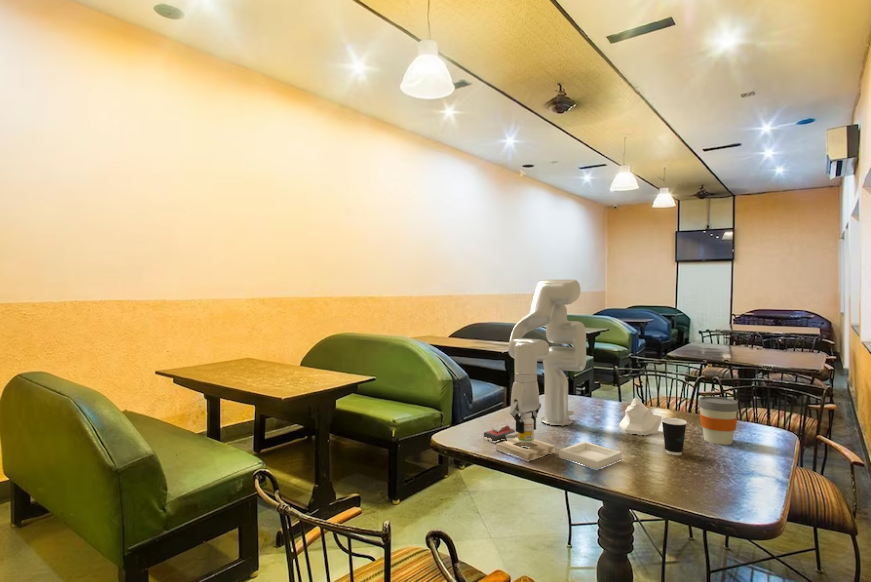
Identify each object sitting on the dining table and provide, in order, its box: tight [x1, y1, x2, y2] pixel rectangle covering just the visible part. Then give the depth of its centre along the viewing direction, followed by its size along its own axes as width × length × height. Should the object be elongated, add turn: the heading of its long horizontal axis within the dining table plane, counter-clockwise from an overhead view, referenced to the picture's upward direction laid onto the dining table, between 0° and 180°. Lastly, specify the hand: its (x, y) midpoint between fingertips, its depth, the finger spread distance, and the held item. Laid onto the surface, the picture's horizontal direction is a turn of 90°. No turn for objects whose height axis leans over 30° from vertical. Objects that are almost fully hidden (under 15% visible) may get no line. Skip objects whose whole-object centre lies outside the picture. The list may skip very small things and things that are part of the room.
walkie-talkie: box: [483, 424, 518, 441], centre depth 180 cm, size 9×4×20 cm
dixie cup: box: [661, 417, 688, 456], centre depth 163 cm, size 8×8×11 cm
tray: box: [558, 441, 623, 469], centre depth 156 cm, size 14×14×3 cm
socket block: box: [495, 438, 556, 460], centre depth 163 cm, size 14×14×2 cm
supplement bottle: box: [517, 412, 535, 443], centre depth 164 cm, size 5×5×10 cm
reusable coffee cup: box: [698, 395, 739, 445], centre depth 176 cm, size 13×13×15 cm
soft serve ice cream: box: [618, 397, 662, 436], centre depth 186 cm, size 12×15×14 cm
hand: (525, 430), depth 164 cm, fingers closed on supplement bottle, 5 cm apart
